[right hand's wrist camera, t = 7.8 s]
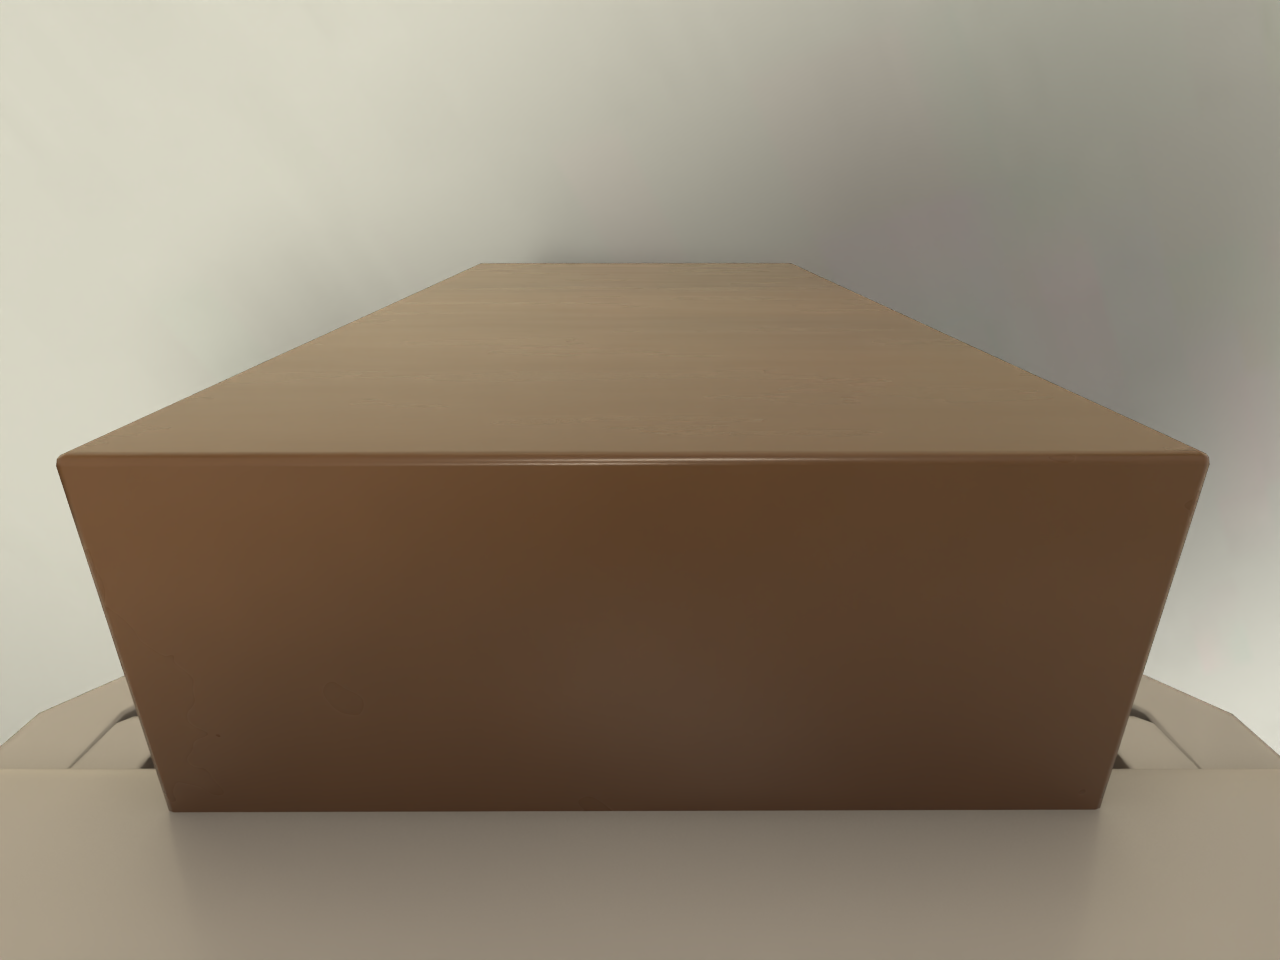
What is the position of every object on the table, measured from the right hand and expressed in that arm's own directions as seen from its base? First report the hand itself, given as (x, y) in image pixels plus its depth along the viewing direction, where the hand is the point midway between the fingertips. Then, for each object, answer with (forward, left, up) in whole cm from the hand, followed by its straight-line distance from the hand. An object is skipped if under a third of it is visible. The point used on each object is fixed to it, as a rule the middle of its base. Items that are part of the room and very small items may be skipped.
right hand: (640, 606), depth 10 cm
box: (+3, +9, -6) cm, 11 cm away
